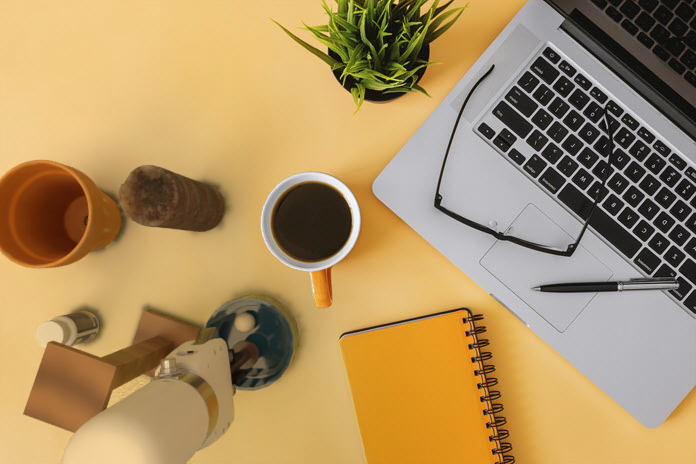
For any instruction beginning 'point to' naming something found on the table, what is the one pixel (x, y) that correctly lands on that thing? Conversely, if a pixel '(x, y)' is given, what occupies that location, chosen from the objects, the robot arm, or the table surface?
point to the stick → (245, 355)
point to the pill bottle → (68, 329)
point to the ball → (244, 322)
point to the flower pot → (53, 215)
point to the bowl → (259, 337)
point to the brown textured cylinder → (170, 200)
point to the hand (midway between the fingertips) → (232, 365)
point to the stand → (99, 372)
